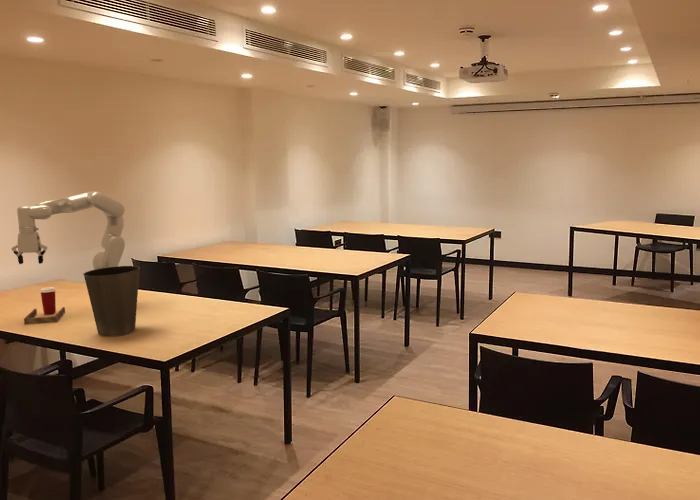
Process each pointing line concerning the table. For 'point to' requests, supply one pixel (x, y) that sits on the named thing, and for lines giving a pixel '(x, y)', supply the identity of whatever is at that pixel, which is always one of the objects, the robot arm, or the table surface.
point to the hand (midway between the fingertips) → (31, 263)
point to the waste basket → (113, 298)
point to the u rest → (31, 320)
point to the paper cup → (48, 300)
